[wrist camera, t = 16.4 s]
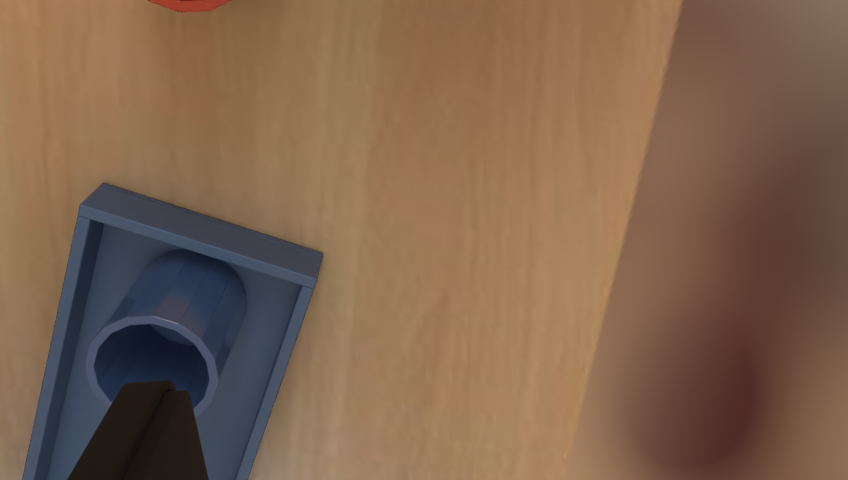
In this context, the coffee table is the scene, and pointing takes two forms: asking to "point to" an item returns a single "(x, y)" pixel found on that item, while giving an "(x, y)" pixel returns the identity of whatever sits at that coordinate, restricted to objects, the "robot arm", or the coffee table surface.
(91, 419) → the blue tray
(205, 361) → the blue cup
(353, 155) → the coffee table surface
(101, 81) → the coffee table surface
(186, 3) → the red cup
